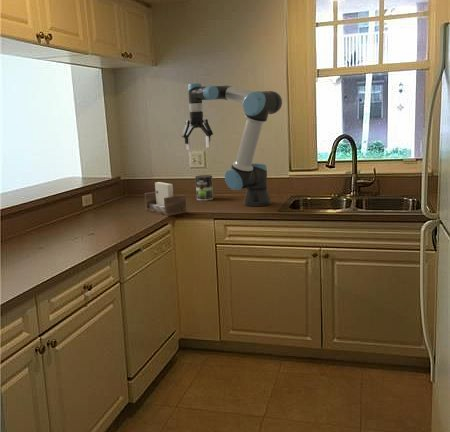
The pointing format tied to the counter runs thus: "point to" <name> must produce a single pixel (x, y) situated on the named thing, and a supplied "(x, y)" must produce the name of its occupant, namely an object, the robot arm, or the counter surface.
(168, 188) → the door panel
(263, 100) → the robot arm
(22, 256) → the counter surface
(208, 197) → the coffee can
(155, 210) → the door track
